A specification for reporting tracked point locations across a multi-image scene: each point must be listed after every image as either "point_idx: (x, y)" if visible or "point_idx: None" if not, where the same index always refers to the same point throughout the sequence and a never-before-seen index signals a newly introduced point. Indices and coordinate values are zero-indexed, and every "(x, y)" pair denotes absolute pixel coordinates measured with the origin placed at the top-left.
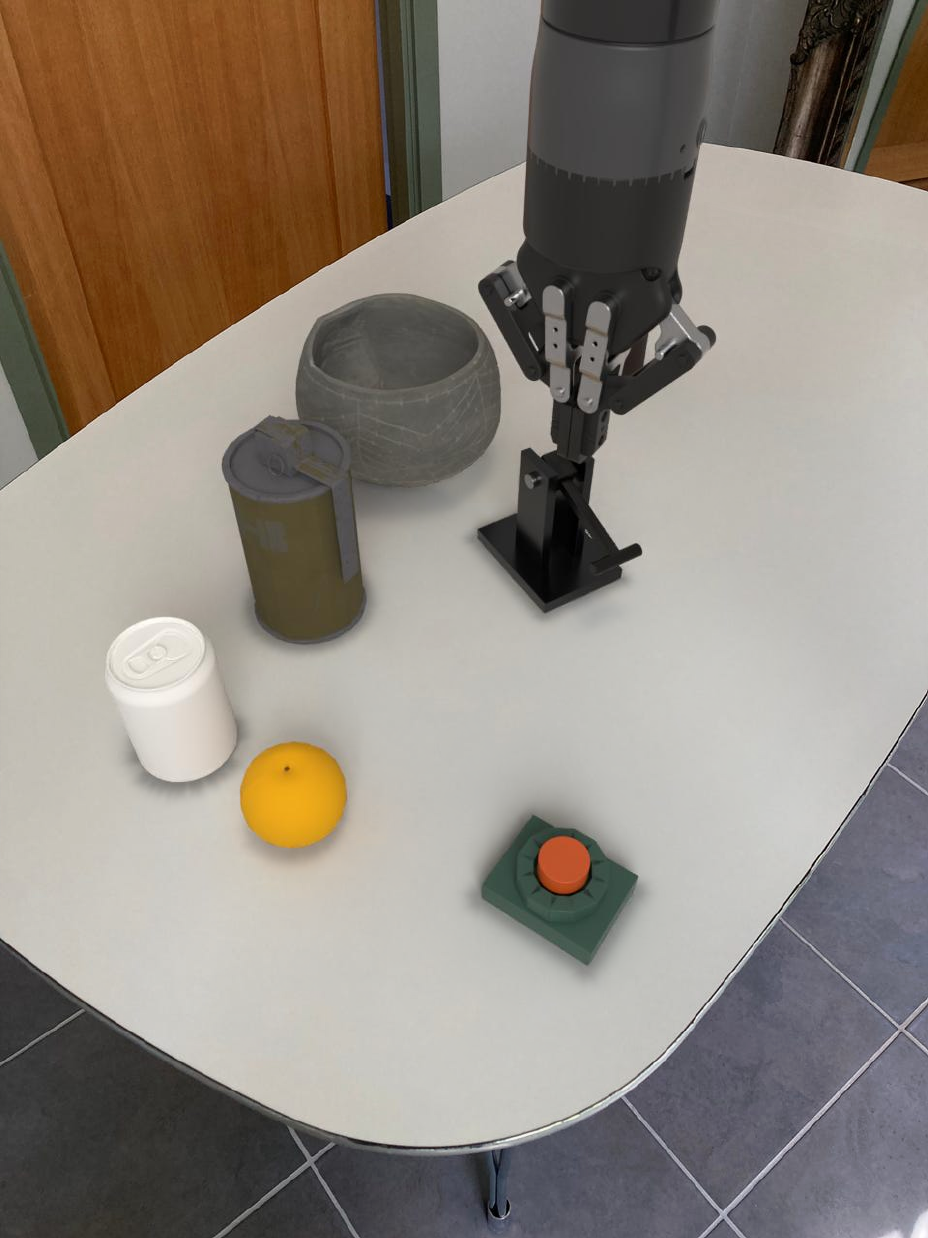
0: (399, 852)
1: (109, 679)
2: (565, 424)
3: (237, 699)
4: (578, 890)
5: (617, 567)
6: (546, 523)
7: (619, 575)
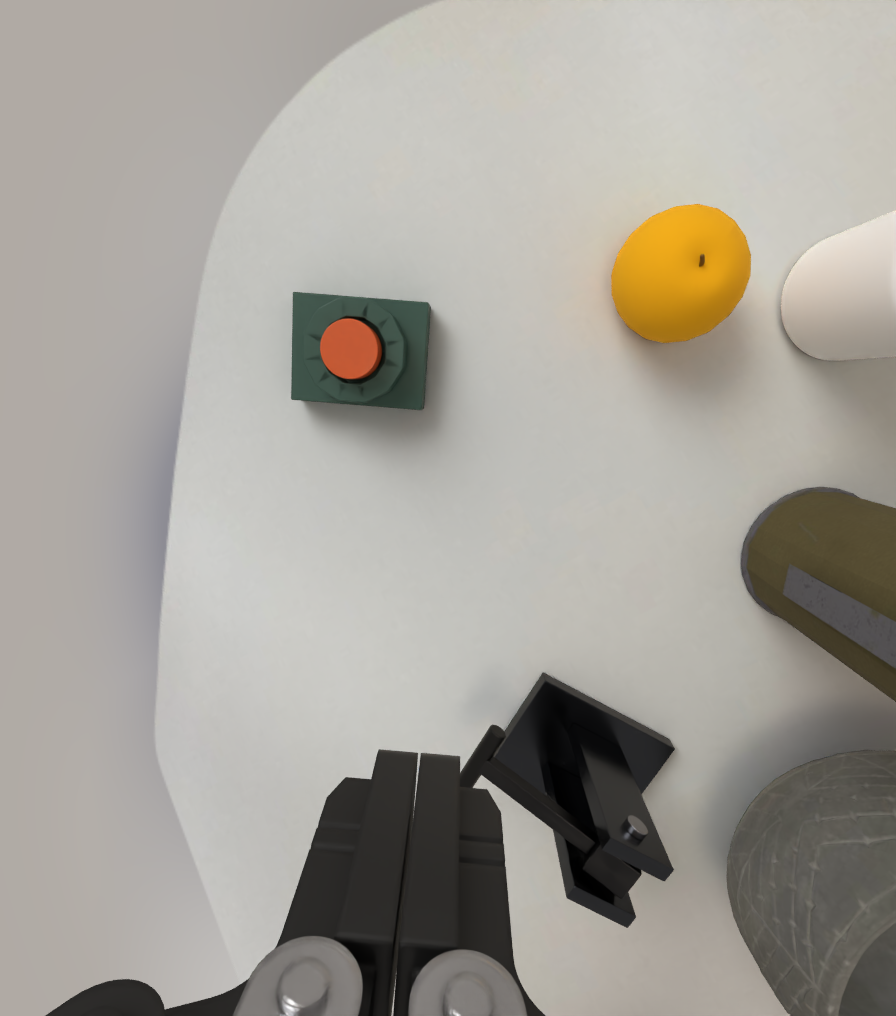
0: (535, 308)
1: None
2: (431, 855)
3: (817, 386)
4: None
5: None
6: (588, 777)
7: None
